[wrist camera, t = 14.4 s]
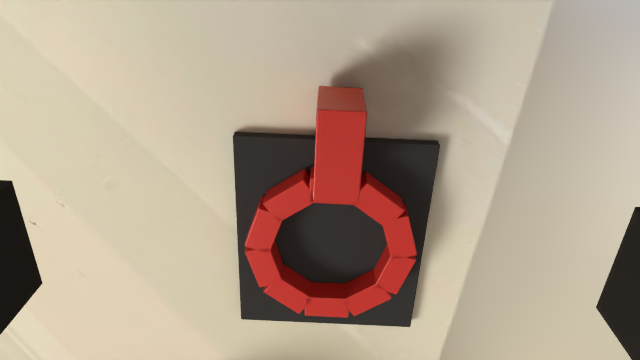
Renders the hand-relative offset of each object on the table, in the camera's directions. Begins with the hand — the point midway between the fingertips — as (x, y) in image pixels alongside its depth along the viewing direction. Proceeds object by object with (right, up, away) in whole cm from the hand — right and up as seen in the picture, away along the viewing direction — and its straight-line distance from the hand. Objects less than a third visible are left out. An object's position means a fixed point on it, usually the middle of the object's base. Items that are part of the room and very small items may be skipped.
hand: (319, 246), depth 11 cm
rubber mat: (+1, -2, +21) cm, 21 cm away
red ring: (+1, 0, +19) cm, 19 cm away
